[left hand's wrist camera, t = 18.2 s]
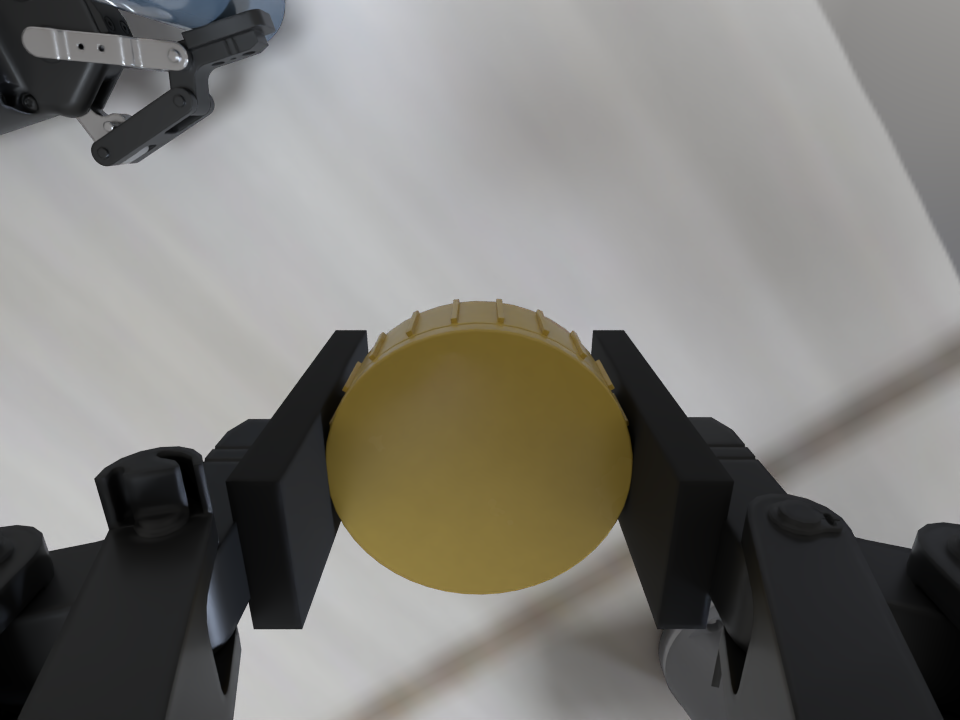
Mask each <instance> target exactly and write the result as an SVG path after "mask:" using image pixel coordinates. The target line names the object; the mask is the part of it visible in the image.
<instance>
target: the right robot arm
mask: <svg viewBox="0 0 960 720" xmlns="http://www.w3.org/2000/svg"><path fill="white" fill-rule="evenodd" d="M275 31H276V30H275V27H274V25H273V22H272V19H271V16H270V14H268V13H266V12H265V11H263V10H261V9H251V10H247V11H244V12H241V13H238V14H235V15H232V16H229V17H226V18H224V19H221V20H218V21H215V22H212V23H209V24H206V25H204V26H201V27H197V28H194V29H191V30H188V31H185V32H183V33H182V35H183V38H184V40H181V41H178V42H175V41H166V40H155V39H144V38H135V37H133V36H132V34H131V31H130V29H129V27H128V25H127V23H126V21H125V19H124V18H123V16H122V15H121V14H120V12H119V11H118V10H117V8H114V7H111V6H108V5H105V4H102V3H99V2H96V1H93V0H0V135H2V134H5V133H8V132H11V131H14V130H17V129H20V128H23V127H26V126H29V125H32V124H35V123H38V122H41V121H44V120H47V119H50V118H53V117H56V116H59V115H61V116H65V117H70V118H77V119H78V121H79V122H80V123H81V125H82V126H83V127H84V129H85V130H86V131H87V133H88V134H89V135H90V136H91V138H92V139H93V140H94V143H93V145H92V147H91V153H92V156H93V158H94V159H95V160H96V161H97V162H98V163H99V164H101V165H103V166H113V165H122V164H131V163H137V162H140V161H141V160H142V159H144V158H145V157H147V156H148V155H150V154H151V153H153V152H154V151H156V150H157V149H159V148H160V147H162V146H163V145H165V144H166V143H168V142H169V141H171V140H172V139H174V138H175V137H177V136H178V135H180V134H181V133H183V132H184V131H186V130H187V129H189V128H190V127H192V126H193V125H195V124H196V123H198V122H199V121H201V120H202V119H204V118H205V117H207V116H208V115H209V114H211V113H212V112H213V110H214V100H213V98H212V96H211V95H210V94H209V88H208V77H209V74H210V73H211V71H212V70H213V69H215V68H217V67H220V66H223V65H226V64H229V63H232V62H235V61H238V60H241V59H244V58H247V57H249V56H253V55H256V54H259V53H261V52H262V51H263V50H264V49H265V48H266V47H267V46H268V43H267V40H266V37H265V36H266V35H269V34H272V33H274V32H275ZM123 68H127V69H138V70H149V71H160V72H169V79H170V88H171V90H169V91H168V92H166V93H165V94H163V95H162V96H160V97H159V98H158V99H156V100H155V101H153V102H152V103H150V104H149V105H147V106H146V107H145V108H143V109H142V110H140V111H139V112H137V113H136V114H134V115H133V116H131V115H128V114H110V115H108V114H106V113H105V112H104V111H103V109H104V107H105V105H106V103H107V101H108V98H109V96H110V94H111V92H112V90H113V88H114V86H115V84H116V82H117V80H118V78H119V76H120V74H121V72H122V70H123Z"/></svg>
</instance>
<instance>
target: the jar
mask: <svg viewBox="0 0 960 720" xmlns="http://www.w3.org/2000/svg"><path fill="white" fill-rule="evenodd" d="M93 1H96V2H99V3H102V4H105V5H108V6H111V7H114V8H117V9H121V10H124V11H127V12H130V13H133V14H136V15H139V16H142V17H145V18H149V19H152V20H155V21H158V22H161V23H164V24H167V25H170V26H173V27H177V28H180V29H183V30H186V31H188V30H191V29H194V28H197V27H201V26H204V25H206V24H209V23H212V22H215V21H218V20H221V19H224V18H226V17H229V16H232V15H235V14H238V13H241V12H244V11H247V10H251V9H261V10H263V11H265V12H266V13H268V14H270V16H271V19H272V22H273V25H274V27H275V30H276V31H275V32H274V33H272V34H269V35H266V36H265V37H266V40H267V41H268V40H270V39H271V38H272V37H273V36H274V35H275V34H276V32H277V31H278V29H279V27H280V25H281V23H282V20H283V16H284V10H285V0H93Z"/></svg>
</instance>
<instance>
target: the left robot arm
mask: <svg viewBox="0 0 960 720" xmlns="http://www.w3.org/2000/svg"><path fill="white" fill-rule="evenodd" d="M367 354H368V343H367V330H336V331H335V332H334V333H333V335H332V336H331V338H330V339H329V340H328V342H327V343H326V344H325V346H324V347H323V348H322V350H321V351H320V353H319V354H318V355H317V357H316V358H315V359H314V361H313V362H312V364H311V365H310V366H309V368H308V369H307V370H306V372H305V373H304V374H303V376H302V377H301V379H300V380H299V381H298V383H297V384H296V385H295V387H294V388H293V389H292V391H291V392H290V394H289V395H288V396H287V398H286V399H285V400H284V402H283V403H282V404H281V406H280V407H279V409H278V410H277V411H276V413H275V414H274V415H273V417H272V418H271V419H248V420H246V421H245V422H243V423H241V424H240V425H238V426H236V427H235V428H233V429H231V430H230V431H228V432H227V433H226V434H225V435H224V437H223V438H222V439H221V440H220V441H219V442H218V444H217V445H216V446H215V449H212V451H211V452H210V453H209V454H208V455H207V457H206V458H205V462H203V460H202V455H201V454H199V453H198V452H196V451H195V450H194V449H190V448H185V447H179V446H177V447H159V448H154V449H149V450H145V451H140V452H137V453H135V454H132V455H129V456H127V457H124V458H121V459H119V460H118V461H116V462H114V463H113V464H111V465H109V466H107V467H106V468H104V469H103V470H102V471H101V472H100V473H99V474H98V475H97V477H96V478H95V483H96V486H97V490H98V493H99V497H100V500H101V503H102V507H103V510H104V514H105V517H106V520H107V524H108V527H109V531H108V533H107V536H106V538H105V540H102V541H98V542H94V543H89V544H84V545H78V546H73V547H68V548H63V549H58V550H53V551H48V548H47V546H46V543H45V540H44V537H43V534H42V533H41V532H40V531H38V530H37V529H36V528H34V527H30V526H21V525H14V526H6V527H0V720H233V717H234V708H235V700H236V691H237V682H238V674H239V665H240V657H241V644H240V638H239V633H238V628H237V624H238V622H239V620H240V618H241V616H242V614H243V612H244V610H245V608H246V606H247V604H248V602H249V607H250V612H251V617H252V622H253V627H254V629H302V628H303V625H304V623H305V620H306V617H307V614H308V611H309V609H310V606H311V603H312V600H313V597H314V595H315V592H316V589H317V586H318V583H319V581H320V578H321V575H322V572H323V570H324V567H325V564H326V561H327V558H328V556H329V553H330V550H331V547H332V544H333V542H334V539H335V536H336V533H337V530H338V528H339V525H340V522H341V519H340V518H339V516H338V514H337V512H336V510H335V507H334V505H333V502H332V499H331V497H330V490H329V483H328V474H327V465H326V442H327V438H328V434H329V430H330V424H329V423H330V421H331V419H332V417H333V415H334V413H335V411H336V409H337V407H338V405H339V404H340V402H341V400H342V398H343V396H344V395H345V393H346V392H344V391H342V389H343V387H344V385H345V384H346V382H347V380H348V378H349V376H350V374H351V372H352V371H353V369H354V367H355V365H356V363H357V362H360V363H362V362H363V360H364V359H365V357H366V356H367ZM591 356H592V357H593V359H594V360H595V361H597V360H600V362H601V363H602V365H603V367H604V369H605V371H606V373H607V375H608V376H609V378H610V380H611V382H612V384H613V386H614V389H613V390H611V392H612V393H614V394H615V396H616V398H617V400H618V402H619V404H620V406H621V408H622V410H623V412H624V413H625V415H626V417H627V419H628V422H629V426H627V427H628V430H629V434H630V437H631V444H632V452H633V468H632V478H631V484H630V490H629V493H628V496H627V499H626V502H625V505H624V507H623V509H622V511H621V513H620V516H619V518H618V520H619V523H620V526H621V529H622V531H623V534H624V537H625V540H626V543H627V545H628V548H629V551H630V554H631V557H632V559H633V562H634V565H635V568H636V571H637V573H638V576H639V579H640V582H641V584H642V587H643V590H644V593H645V596H646V598H647V601H648V604H649V607H650V610H651V612H652V615H653V618H654V621H655V624H656V626H657V629H664V631H663V633H662V636H661V639H660V644H659V660H660V664H661V668H662V670H663V673H664V676H665V679H666V682H667V685H668V687H669V689H670V691H671V693H672V694H673V695H674V697H675V698H676V699H677V701H678V702H679V703H680V705H681V706H682V707H683V708H684V710H685V711H686V713H687V714H688V715H689V717H690V718H691V719H692V720H960V524H952V523H944V522H942V523H933V524H927V525H925V526H924V527H922V528H921V529H920V530H918V533H917V536H916V538H915V541H914V544H913V547H912V549H910V548H905V547H900V546H895V545H889V544H884V543H879V542H874V541H869V540H864V539H860V538H856V537H854V534H853V532H852V530H851V529H850V527H849V526H848V525H847V524H846V522H845V521H844V520H843V519H842V518H841V517H840V516H839V515H837V514H836V513H834V512H833V511H831V510H830V509H828V508H827V507H825V506H823V505H820V504H818V503H816V502H814V501H811V500H809V499H806V498H802V497H798V496H793V495H789V494H787V493H786V492H785V491H784V490H783V488H782V487H781V486H780V485H779V484H778V483H777V481H776V480H775V479H774V478H773V477H772V476H771V474H770V473H769V472H768V471H767V470H766V469H765V467H764V466H763V465H762V464H761V463H760V462H759V460H755V456H754V454H753V453H752V452H751V451H750V450H749V449H748V447H745V444H744V443H743V442H742V440H741V439H740V438H739V437H738V436H737V435H736V433H735V432H734V431H733V430H732V429H730V428H729V427H727V426H725V425H724V424H722V423H720V422H718V421H717V420H715V419H713V418H712V417H687V416H686V415H685V413H684V412H683V410H682V409H681V408H680V406H679V405H678V404H677V402H676V401H675V400H674V398H673V397H672V395H671V394H670V393H669V391H668V390H667V389H666V387H665V386H664V384H663V383H662V382H661V380H660V379H659V378H658V376H657V375H656V374H655V372H654V371H653V369H652V368H651V367H650V365H649V364H648V363H647V361H646V360H645V359H644V357H643V356H642V354H641V353H640V352H639V350H638V349H637V348H636V346H635V345H634V344H633V342H632V341H631V339H630V338H629V337H628V335H627V334H626V333H625V331H624V330H593V338H592V351H591Z"/></svg>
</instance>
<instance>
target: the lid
mask: <svg viewBox="0 0 960 720" xmlns="http://www.w3.org/2000/svg"><path fill="white" fill-rule="evenodd" d="M613 389H614V386H613V384H612V382H611V380H610V378H609V376H608V375H607V373H606V371H605V369H604V367H603V365H602V363H601V362H600V360H597V361H595V360H594V359H593V357H592V356H591V354H590V353H589V351H588V350H587V349H586V348H585V347H584V346H583V345H582V344H581V341H580V339H579V337H578V335H577V333H575V332H574V331H572V332H571V333H569V332H568V331H567V330H566V329H565V328H563V327H562V326H560V325H558V324H557V323H555V322H554V321H552V320H551V319H549V318H547V317H545V316H544V314H543V312H542V311H540V310H537V312H534V311H531V310H528V309H525V308H522V307H518V306H515V305H510V304H505V303H502V299H496V302H487V301H470V302H459V299H456V300H453V304H448V305H443V306H439V307H436V308H433V309H430V310H427V311H425V312H422V313H419V311H415V312H413V315H412V317H411V318H410V319H408V320H406V321H404V322H402V323H401V324H400V325H398V326H397V327H395V328H394V329H392V330H391V331H389V332H388V333H387V334H385V333H384V332H383V333H381V334H380V335H379V337H378V339H377V341H376V343H375V345H374V347H373V348H372V349H371V351H370V352H369V353H368V354H367V356H366V357H365V359H364V360H363V362H362V363H360V362H357V363H356V365H355V367H354V369H353V371H352V372H351V374H350V376H349V378H348V380H347V382H346V384H345V385H344V387H343V389H342V391H344V392H346V393H345V395H344V396H343V398H342V400H341V402H340V404H339V405H338V407H337V409H336V411H335V413H334V415H333V417H332V419H331V421H330V423H329V424H330V430H329V434H328V438H327V442H326V465H327V474H328V483H329V490H330V497H331V499H332V502H333V505H334V507H335V510H336V512H337V514H338V516H339V518H340V519H341V521H342V523H343V525H344V526H345V528H346V529H347V531H348V532H349V533H350V535H351V536H352V537H353V539H354V540H355V541H356V542H357V543H358V544H359V545H360V546H361V547H362V548H363V549H364V550H365V551H366V552H367V553H368V554H369V555H370V556H371V557H373V558H374V559H375V560H376V561H378V562H379V563H380V564H382V565H383V566H385V567H386V568H388V569H389V570H391V571H393V572H394V573H396V574H398V575H400V576H402V577H404V578H406V579H408V580H410V581H413V582H415V583H418V584H421V585H424V586H427V587H430V588H434V589H438V590H442V591H447V592H454V593H461V594H497V593H505V592H510V591H516V590H520V589H524V588H528V587H531V586H535V585H537V584H540V583H542V582H545V581H547V580H550V579H552V578H554V577H556V576H558V575H560V574H562V573H564V572H565V571H567V570H569V569H570V568H572V567H573V566H575V565H576V564H578V563H579V562H581V561H582V560H583V559H584V558H585V557H587V556H588V555H589V554H590V553H591V552H592V551H593V550H595V549H596V548H597V546H598V545H599V544H600V543H601V542H602V541H603V540H604V538H605V537H606V536H607V535H608V533H609V532H610V530H611V529H612V527H613V526H614V525H615V523H616V522H617V520H618V518H619V516H620V513H621V511H622V509H623V507H624V505H625V502H626V499H627V496H628V493H629V490H630V484H631V478H632V468H633V452H632V444H631V437H630V434H629V430H628V427H627V426H629V422H628V419H627V417H626V415H625V413H624V412H623V410H622V408H621V406H620V404H619V402H618V400H617V398H616V396H615V394H614V393H612V392H611V390H613Z"/></svg>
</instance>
